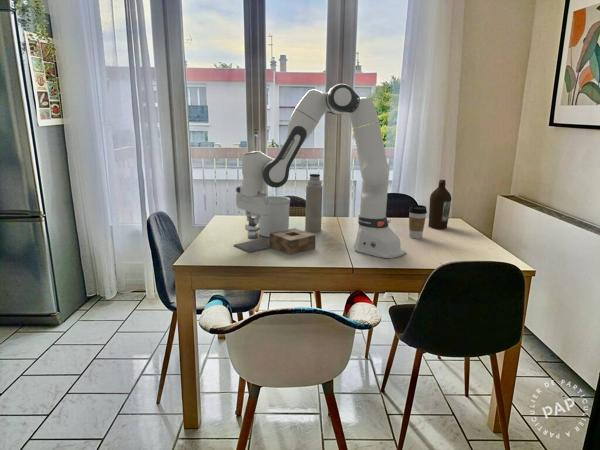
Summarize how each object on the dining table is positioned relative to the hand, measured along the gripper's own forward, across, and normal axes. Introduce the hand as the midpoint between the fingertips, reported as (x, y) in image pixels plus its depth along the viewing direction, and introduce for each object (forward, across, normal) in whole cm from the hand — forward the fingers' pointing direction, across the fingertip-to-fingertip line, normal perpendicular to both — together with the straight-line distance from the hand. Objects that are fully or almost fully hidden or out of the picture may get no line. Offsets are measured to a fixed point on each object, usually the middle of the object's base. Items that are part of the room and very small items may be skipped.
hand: (252, 222), depth 183 cm
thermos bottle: (+11, +5, -40) cm, 42 cm away
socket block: (+11, -11, -13) cm, 20 cm away
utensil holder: (+11, +11, -20) cm, 25 cm away
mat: (+11, 0, 0) cm, 11 cm away
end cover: (+7, 0, 0) cm, 7 cm away
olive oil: (+11, -30, -97) cm, 102 cm away
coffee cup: (+11, -34, -71) cm, 80 cm away
